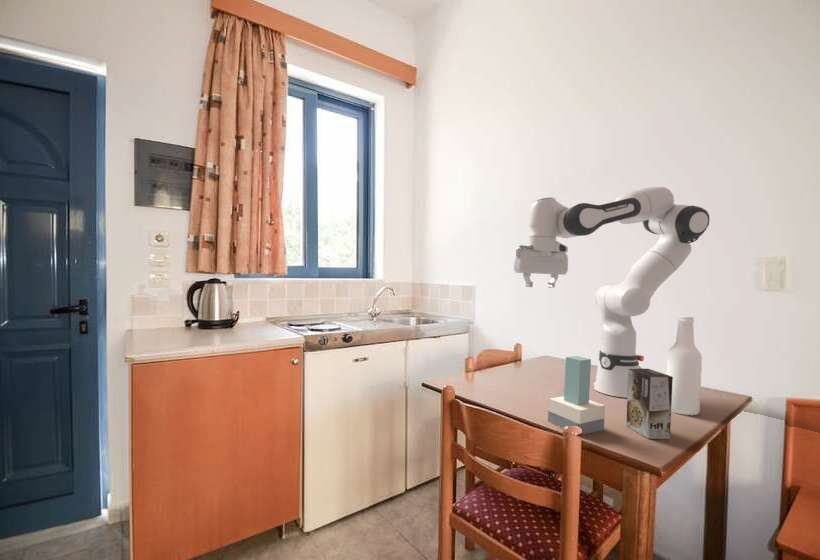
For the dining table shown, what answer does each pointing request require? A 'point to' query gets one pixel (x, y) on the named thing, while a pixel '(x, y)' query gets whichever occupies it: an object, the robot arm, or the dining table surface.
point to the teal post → (577, 380)
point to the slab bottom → (586, 427)
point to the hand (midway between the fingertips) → (540, 287)
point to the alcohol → (685, 369)
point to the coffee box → (649, 403)
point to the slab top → (577, 410)
